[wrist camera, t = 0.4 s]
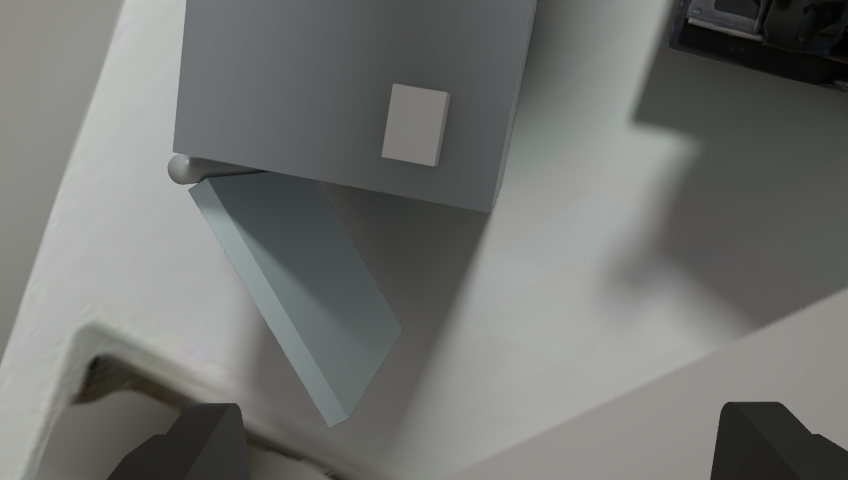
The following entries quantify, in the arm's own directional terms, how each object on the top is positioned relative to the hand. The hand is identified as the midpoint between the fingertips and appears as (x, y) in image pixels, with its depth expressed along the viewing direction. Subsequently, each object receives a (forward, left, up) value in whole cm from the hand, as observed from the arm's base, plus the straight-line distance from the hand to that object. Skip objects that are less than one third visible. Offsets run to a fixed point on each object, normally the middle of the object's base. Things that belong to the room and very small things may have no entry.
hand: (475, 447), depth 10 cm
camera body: (-8, -8, -27) cm, 29 cm away
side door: (+3, -10, -25) cm, 27 cm away
